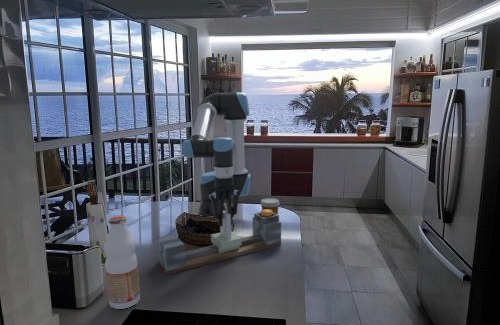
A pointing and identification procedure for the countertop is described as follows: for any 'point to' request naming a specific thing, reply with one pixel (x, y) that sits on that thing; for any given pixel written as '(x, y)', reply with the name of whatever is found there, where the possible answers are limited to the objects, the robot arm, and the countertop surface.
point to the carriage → (226, 237)
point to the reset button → (266, 213)
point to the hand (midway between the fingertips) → (225, 232)
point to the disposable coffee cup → (270, 204)
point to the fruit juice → (121, 265)
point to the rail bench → (221, 255)
